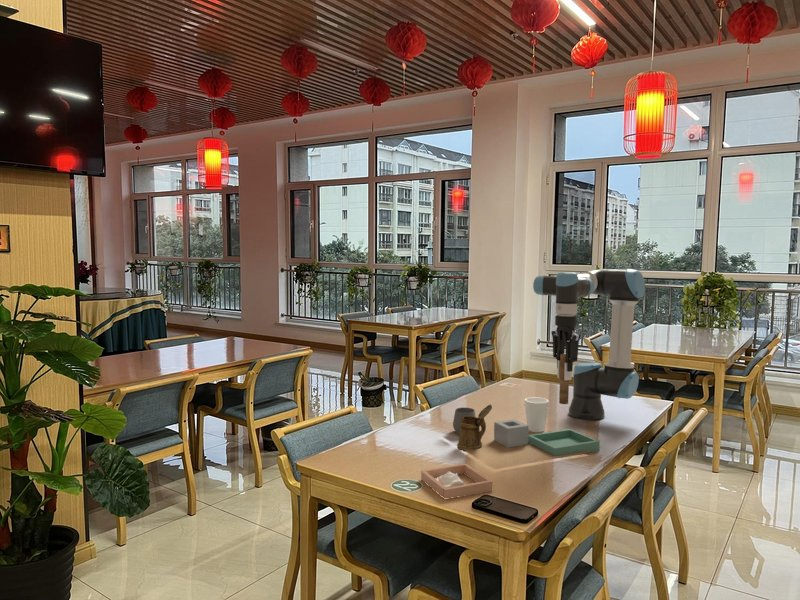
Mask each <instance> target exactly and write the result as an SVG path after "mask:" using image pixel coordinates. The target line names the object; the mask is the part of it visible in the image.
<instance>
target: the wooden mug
mask: <svg viewBox="0 0 800 600" xmlns="http://www.w3.org/2000/svg"><path fill="white" fill-rule="evenodd" d="M492 409H493V407H492V404H488V405H487V406H485V407H484V408H483V409H482V410H481V411H480V412H479V414H478V415H477V416H476V417H474V416H464V417H462V421H461V423H460V426H461V428H460V435H459V434H458V435H459V437H458V442H457V445H456V447H457V449H458V450H459V451H461V450H463V451H462V452H466V451H467V450H479V449H481V448H483V442H482V441H481V440H482V438H483V436H484V435H485V433H486V429H487V423H486V420H485V417H487V415H488V414H489V413H490V412H491V410H492Z"/></svg>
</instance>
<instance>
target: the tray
mask: <svg viewBox="0 0 800 600" xmlns="http://www.w3.org/2000/svg"><path fill="white" fill-rule="evenodd" d="M600 442H601V441H600V440H598V439H596V438H593V437H590V436H589V435H586V434H583V433H581V432H580V431H577V430H574V429H572V428H567V429H559V430H553V431H547V432H538V433H533V434H528V444H529V443H530V444H531V445H532V446H535V447H536V448H539V449H540V450H543V451H545V452H546V453H549V454H551V455H553V456H561V455H565V456H563V457H564V458H565V457H566V454H572V453H577V452H583V451H587V452H589V453H593V452H592V451H594V452H599V451H600V447H601V443H600Z"/></svg>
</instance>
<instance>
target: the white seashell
mask: <svg viewBox="0 0 800 600" xmlns="http://www.w3.org/2000/svg"><path fill="white" fill-rule="evenodd" d="M436 480H437V481H438V482H440V483H441V484H442V485H443V486H445V487H446V488H449V487H454V486H460V485H465V483H464V481H463V480H462V479H461V478H460V477H459V475H457V473H456V474H454V473H451V472H447V473H446V474H445V475H441V476H440V477H438V478H436Z"/></svg>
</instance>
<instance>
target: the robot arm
mask: <svg viewBox="0 0 800 600" xmlns="http://www.w3.org/2000/svg"><path fill="white" fill-rule="evenodd" d="M532 284H533V286H532V287H533V288H532V289H533V291H534V293H535V294H536V295H538V296H539V295H541V296H553V297H554V296H555V317H554V321H555V322H554V325H555V326H556V329H555V330H552V331H551V336H552V356H553V357H552V358H555V360H556V369H557V378H556V379H560V354H566V361H565V368H564V380H565V381H566V380H569V381H573V382H572V383H573V385H572V386H573V389H572V393H573V394H572V398H571V399H572V400H571V402H570V405H569V407H568V415H569V416H571V417H573V418H576V419H579V420H580V419H581V420H589V421H591V420H593V421H595V420H601V419H604V418H605V409H604V406H603V402H602V399H601V397H602V395H603V396H607V397H612V398H618V399H625V400H626V399H627V400H628V399H631V398H632V397H634V396H635V393H636V392H637V389H638V386H639V382H640V381H639V380H640V377H639V373H638V372H636V371H635V366H634V365H633V364H632V361H631V360H632V344H633V343H632V342H633V333H634V332H633V329H634V315H635V306H636V305H637V304H638V303H639V299H640V298H641V299H642V298H643V297H644V295H645V293H646V283H645V279H644V276H643V273H642V272H640V270H639V269H631V268H600V269H594V270H588V271H586V270H585V271H582V272H581V273H579V274H578V273H577V272H572V271H570V272H569V271H568V272H567V271H564V272H561V271H560V272H558V273H557V274H556V275H537V276H536V277H535V278H534V280H533V282H532ZM591 295H598V296H605V297H608V301H609V302H610V303H611V305H612V307H611V323H610V324H611V325H610V340H609V353H608V361H607V362H606V363H604V366H603V364H602V363H601V362H581V363H578V364H575V365H574V364H573V363H575V362H578V356H579V342H580V340H581V334H577V333H576V330H575V327H576V326H577V325H578V323H577V322H578V319H577V318H578V317H577V314H578V298H586V297H588V296H589V297H590V296H591ZM573 365H574V366H573ZM572 373H573V374H572ZM572 375H573V376H572ZM572 377H573V380H572Z"/></svg>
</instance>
